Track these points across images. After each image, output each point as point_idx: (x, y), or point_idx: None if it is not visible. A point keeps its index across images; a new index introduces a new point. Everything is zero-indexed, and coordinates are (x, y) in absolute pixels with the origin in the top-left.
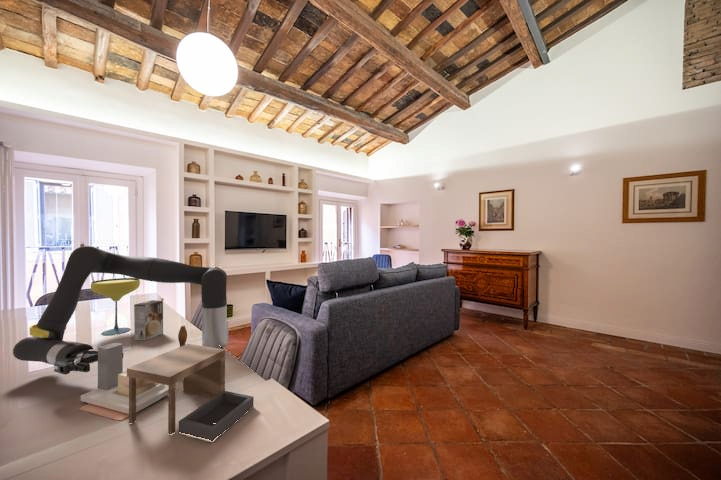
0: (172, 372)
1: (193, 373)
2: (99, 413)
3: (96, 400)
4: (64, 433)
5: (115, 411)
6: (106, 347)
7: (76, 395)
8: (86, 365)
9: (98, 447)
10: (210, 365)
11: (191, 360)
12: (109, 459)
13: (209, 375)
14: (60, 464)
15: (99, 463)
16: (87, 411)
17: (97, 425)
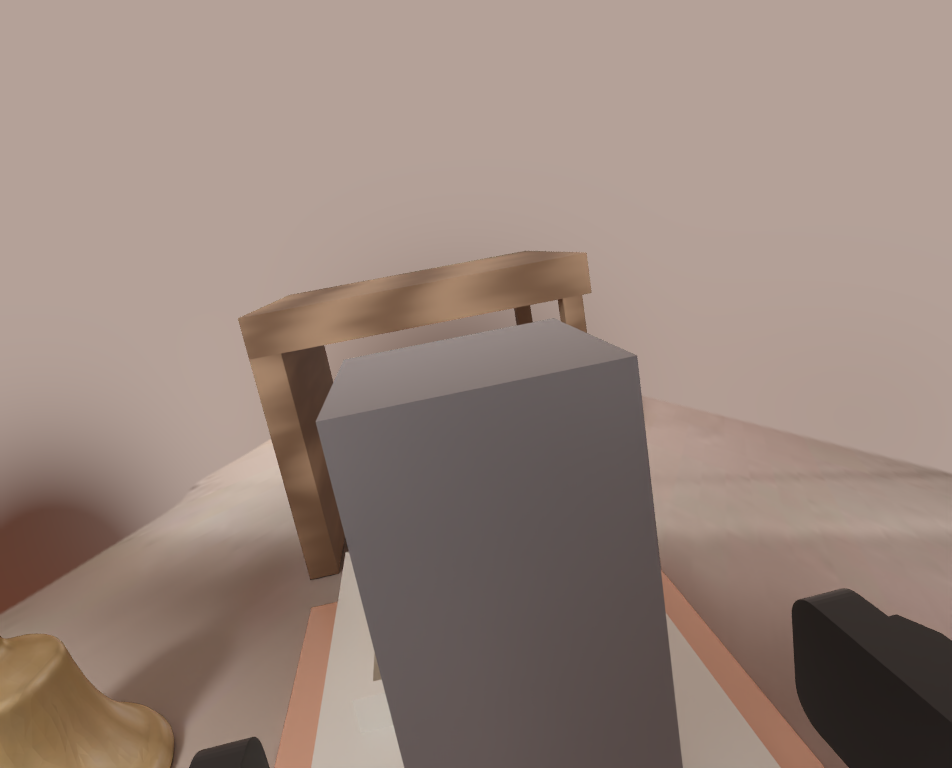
0: (504, 255)
1: (319, 440)
2: (710, 638)
3: (725, 697)
4: (880, 589)
5: None
6: (536, 336)
7: None
8: (842, 591)
9: (719, 468)
10: (319, 364)
11: (413, 273)
12: (693, 431)
13: None
14: (825, 459)
15: (717, 430)
16: (792, 731)
17: (722, 561)
